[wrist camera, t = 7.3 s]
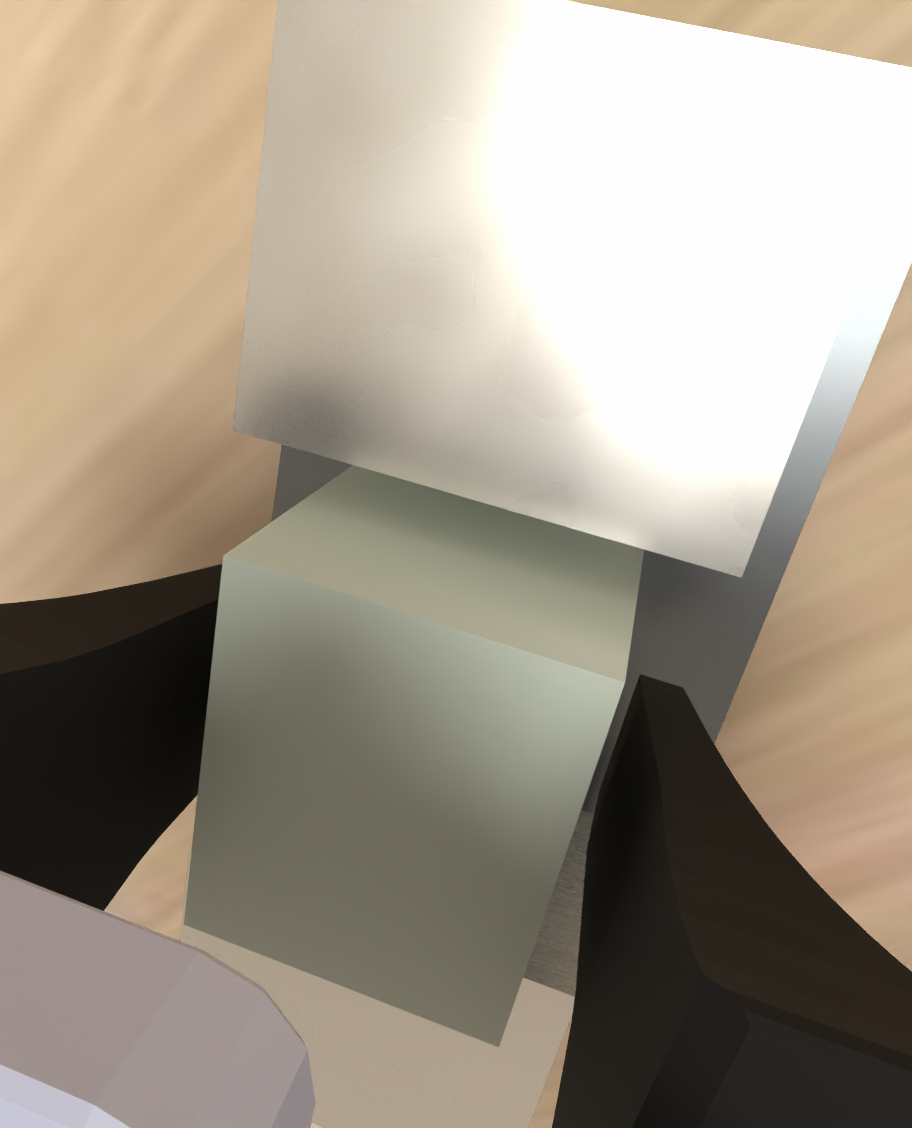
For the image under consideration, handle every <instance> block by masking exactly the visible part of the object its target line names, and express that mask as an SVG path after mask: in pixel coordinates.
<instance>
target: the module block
mask: <svg viewBox="0 0 912 1128" xmlns="http://www.w3.org/2000/svg"><path fill="white" fill-rule="evenodd" d="M643 554H644V549H641V548H638V547H634V546H631V545H627V544H624V543H620V542H617V541H613V540H610V539H607V538H603V537H600V536H596V535H593V534H589V533H586V532H582V531H579V530H575V529H572V528H569V527H565V526H562V525H558V524H555V523H551V522H548V521H544V520H541V519H538V518H534V517H531V516H527V515H524V514H520V513H517V512H513V511H510V510H507V509H503V508H500V507H496V506H493V505H489V504H486V503H482V502H479V501H476V500H472V499H469V498H465V497H462V496H458V495H455V494H451V493H448V492H444V491H441V490H438V489H434V488H431V487H427V486H424V485H420V484H417V483H413V482H410V481H407V480H403V479H400V478H396V477H393V476H389V475H386V474H382V473H379V472H376V471H372V470H369V469H365V468H362V467H358V466H355V465H353V466H351V467H350V468H348V469H347V470H346V471H344V472H343V473H341V474H340V475H338V476H337V477H335V478H334V479H333V480H331V481H330V482H328V483H327V484H325V485H324V486H322V487H321V488H320V489H318V490H317V491H315V492H314V493H312V494H311V495H309V496H308V497H307V498H305V499H304V500H302V501H301V502H299V503H298V504H297V505H295V506H294V507H292V508H291V509H289V510H288V511H286V512H285V513H284V514H282V515H281V516H279V517H278V518H276V519H275V520H273V521H272V522H271V523H269V524H268V525H266V526H265V527H263V528H262V529H260V530H259V531H258V532H256V533H255V534H253V535H252V536H250V537H249V538H248V539H246V540H245V541H243V542H242V543H240V544H239V545H237V546H236V547H235V548H233V549H232V550H230V551H229V552H227V553H226V554H224V555H223V563H222V572H221V581H220V591H219V600H218V609H217V619H216V628H215V637H214V647H213V656H212V665H211V675H210V684H209V693H208V703H207V712H206V721H205V731H204V740H203V749H202V759H201V768H200V777H199V787H198V796H197V805H196V815H195V824H194V833H193V843H192V852H191V862H190V871H189V880H188V890H187V899H186V908H185V918H184V925H186V926H189V927H191V928H194V929H196V930H199V931H202V932H204V933H207V934H209V935H212V936H214V937H217V938H219V939H222V940H225V941H227V942H230V943H232V944H235V945H237V946H240V947H243V948H245V949H248V950H250V951H253V952H255V953H258V954H260V955H263V956H266V957H268V958H271V959H273V960H276V961H278V962H281V963H284V964H286V965H289V966H291V967H294V968H296V969H299V970H301V971H304V972H307V973H309V974H312V975H314V976H317V977H319V978H322V979H325V980H327V981H330V982H332V983H335V984H337V985H340V986H342V987H345V988H348V989H350V990H353V991H355V992H358V993H360V994H363V995H365V996H368V997H371V998H373V999H376V1000H378V1001H381V1002H383V1003H386V1004H389V1005H391V1006H394V1007H396V1008H399V1009H401V1010H404V1011H406V1012H409V1013H412V1014H414V1015H417V1016H419V1017H422V1018H424V1019H427V1020H430V1021H432V1022H435V1023H437V1024H440V1025H442V1026H445V1027H447V1028H450V1029H453V1030H455V1031H458V1032H460V1033H463V1034H465V1035H468V1036H471V1037H473V1038H476V1039H478V1040H481V1041H483V1042H486V1043H488V1044H491V1045H494V1046H496V1047H499V1045H500V1043H501V1040H502V1037H503V1034H504V1031H505V1028H506V1025H507V1022H508V1019H509V1017H510V1014H511V1011H512V1008H513V1005H514V1002H515V999H516V996H517V993H518V991H519V988H520V985H521V982H522V979H523V976H524V973H525V970H526V967H527V965H528V962H529V959H530V956H531V953H532V950H533V947H534V944H535V941H536V939H537V936H538V933H539V930H540V927H541V924H542V921H543V918H544V915H545V913H546V910H547V907H548V904H549V901H550V898H551V895H552V892H553V889H554V887H555V884H556V881H557V878H558V875H559V872H560V869H561V866H562V863H563V861H564V858H565V855H566V852H567V849H568V846H569V843H570V840H571V837H572V835H573V832H574V829H575V826H576V823H577V820H578V817H579V814H580V811H581V809H582V806H583V803H584V800H585V797H586V794H587V791H588V788H589V785H590V783H591V780H592V777H593V774H594V771H595V768H596V765H597V762H598V759H599V757H600V754H601V751H602V748H603V745H604V742H605V739H606V736H607V733H608V731H609V728H610V725H611V722H612V719H613V716H614V713H615V710H616V707H617V705H618V702H619V699H620V696H621V693H622V690H623V687H624V684H625V680H626V673H627V666H628V659H629V652H630V645H631V638H632V631H633V624H634V617H635V610H636V603H637V596H638V589H639V582H640V575H641V568H642V561H643Z"/></svg>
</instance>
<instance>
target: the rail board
mask: <svg viewBox="0 0 912 1128" xmlns="http://www.w3.org/2000/svg"><path fill="white" fill-rule="evenodd" d="M911 262H912V68H909V67H904V66H899V65H894V64H889V63H883V62H878V61H873V60H868V59H863V58H858V57H853V56H848V55H842V54H837V53H832V52H827V51H822V50H817V49H812V48H806V47H801V46H796V45H791V44H786V43H781V42H776V41H770V40H765V39H760V38H755V37H750V36H745V35H740V34H734V33H729V32H724V31H719V30H714V29H709V28H704V27H699V26H693V25H688V24H683V23H678V22H673V21H668V20H663V19H657V18H652V17H647V16H642V15H637V14H632V13H627V12H621V11H616V10H611V9H606V8H601V7H596V6H591V5H585V4H580V3H575V2H570V1H565V0H278V3H277V12H276V22H275V32H274V41H273V51H272V60H271V70H270V80H269V89H268V99H267V108H266V118H265V128H264V137H263V147H262V157H261V166H260V176H259V185H258V195H257V205H256V214H255V224H254V234H253V243H252V253H251V262H250V272H249V282H248V291H247V301H246V310H245V320H244V330H243V339H242V349H241V359H240V368H239V378H238V387H237V397H236V407H235V416H234V426H233V430H234V431H238V432H241V433H245V434H248V435H251V436H255V437H258V438H262V439H265V440H269V441H272V442H276V443H279V444H282V448H281V456H280V464H279V471H278V479H277V487H276V495H275V502H274V510H273V518H272V521H273V520H275V519H276V518H278V517H279V516H281V515H282V514H284V513H285V512H286V511H288V510H289V509H291V508H292V507H294V506H295V505H297V504H298V503H299V502H301V501H302V500H304V499H305V498H307V497H308V496H309V495H311V494H312V493H314V492H315V491H317V490H318V489H320V488H321V487H322V486H324V485H325V484H327V483H328V482H330V481H331V480H333V479H334V478H335V477H337V476H338V475H340V474H341V473H343V472H344V471H346V470H347V469H348V468H350V467H351V466H353V465H355V466H358V467H362V468H365V469H369V470H372V471H376V472H379V473H382V474H386V475H389V476H393V477H396V478H400V479H403V480H407V481H410V482H413V483H417V484H420V485H424V486H427V487H431V488H434V489H438V490H441V491H444V492H448V493H451V494H455V495H458V496H462V497H465V498H469V499H472V500H476V501H479V502H482V503H486V504H489V505H493V506H496V507H500V508H503V509H507V510H510V511H513V512H517V513H520V514H524V515H527V516H531V517H534V518H538V519H541V520H544V521H548V522H551V523H555V524H558V525H562V526H565V527H569V528H572V529H575V530H579V531H582V532H586V533H589V534H593V535H596V536H600V537H603V538H607V539H610V540H613V541H617V542H620V543H624V544H627V545H631V546H634V547H638V548H641V549H644V554H643V561H642V568H641V575H640V582H639V589H638V596H637V603H636V610H635V617H634V624H633V631H632V638H631V645H630V652H629V659H628V666H627V673H626V680H625V684H624V687H623V690H622V693H621V696H620V699H619V702H618V705H617V707H616V710H615V713H614V716H613V719H612V722H611V725H610V728H609V731H608V733H607V736H606V739H605V742H604V745H603V748H602V751H601V754H600V757H599V759H598V762H597V765H596V768H595V771H594V774H593V777H592V780H591V783H590V785H589V788H588V791H587V794H586V797H585V800H584V803H583V806H582V809H581V811H580V814H579V817H578V820H577V823H576V826H575V829H574V832H573V835H572V837H571V840H570V843H569V846H568V849H567V852H566V855H565V858H564V861H563V863H562V866H561V869H560V872H559V875H558V878H557V881H556V884H555V887H554V889H553V892H552V895H551V898H550V901H549V904H548V907H547V910H546V913H545V915H544V918H543V921H542V924H541V927H540V930H539V933H538V936H537V939H536V941H535V944H534V947H533V950H532V953H531V956H530V959H529V962H528V965H527V967H526V970H525V973H524V976H523V979H522V982H521V985H520V988H519V991H518V993H517V996H516V999H515V1002H514V1005H513V1008H512V1011H511V1014H510V1017H509V1019H508V1022H507V1025H506V1028H505V1031H504V1034H503V1037H502V1040H501V1043H500V1045H499V1047H496V1046H494V1045H491V1044H488V1043H486V1042H483V1041H481V1040H478V1039H476V1038H473V1037H471V1036H468V1035H465V1034H463V1033H460V1032H458V1031H455V1030H453V1029H450V1028H447V1027H445V1026H442V1025H440V1024H437V1023H435V1022H432V1021H430V1020H427V1019H424V1018H422V1017H419V1016H417V1015H414V1014H412V1013H409V1012H406V1011H404V1010H401V1009H399V1008H396V1007H394V1006H391V1005H389V1004H386V1003H383V1002H381V1001H378V1000H376V999H373V998H371V997H368V996H365V995H363V994H360V993H358V992H355V991H353V990H350V989H348V988H345V987H342V986H340V985H337V984H335V983H332V982H330V981H327V980H325V979H322V978H319V977H317V976H314V975H312V974H309V973H307V972H304V971H301V970H299V969H296V968H294V967H291V966H289V965H286V964H284V963H281V962H278V961H276V960H273V959H271V958H268V957H266V956H263V955H260V954H258V953H255V952H253V951H250V950H248V949H245V948H243V947H240V946H237V945H235V944H232V943H230V942H227V941H225V940H222V939H219V938H217V937H214V936H212V935H209V934H207V933H204V932H202V931H199V930H196V929H194V928H191V927H189V926H186V925H184V918H185V908H186V899H187V890H188V880H189V871H190V862H191V852H192V850H191V851H190V852H189V859H188V868H187V878H186V888H185V897H184V907H183V917H182V926H181V936H180V941H181V942H183V943H186V944H188V945H191V946H193V947H196V948H199V949H201V950H204V951H206V952H207V953H209V954H211V955H212V956H214V957H215V958H217V959H219V960H220V961H222V962H223V963H225V964H227V965H228V966H230V967H232V968H233V969H235V970H236V971H238V972H240V973H241V974H243V975H245V976H246V977H248V978H249V979H251V980H253V981H254V982H256V983H257V984H259V985H261V986H262V987H263V988H264V989H265V990H266V992H267V993H268V994H269V996H270V997H271V998H272V999H273V1001H274V1002H275V1003H276V1005H277V1006H278V1007H279V1009H280V1010H281V1011H282V1013H283V1014H284V1015H285V1017H286V1018H287V1019H288V1020H289V1022H290V1023H291V1024H292V1026H293V1027H294V1028H295V1030H296V1031H297V1032H298V1034H299V1035H300V1036H301V1038H302V1040H303V1042H304V1043H305V1045H306V1047H307V1049H308V1056H309V1062H310V1069H311V1076H312V1083H313V1090H314V1096H315V1103H316V1104H315V1108H314V1113H313V1117H312V1123H315V1124H317V1125H319V1126H322V1127H324V1128H528V1127H529V1124H530V1122H531V1119H532V1117H533V1114H534V1111H535V1109H536V1106H537V1104H538V1101H539V1099H540V1096H541V1093H542V1091H543V1088H544V1086H545V1083H546V1080H547V1078H548V1075H549V1073H550V1070H551V1068H552V1065H553V1062H554V1060H555V1057H556V1055H557V1052H558V1050H559V1047H560V1044H561V1042H562V1039H563V1037H564V1034H565V1032H566V1029H567V1026H568V1024H569V1021H570V1019H571V1016H572V1013H573V1007H574V999H575V991H576V978H577V966H578V953H579V940H580V927H581V914H582V901H583V889H584V877H585V864H586V853H587V846H588V841H589V836H590V831H591V826H592V821H593V817H594V812H595V808H596V803H597V798H598V794H599V789H600V786H601V783H602V781H603V778H604V775H605V772H606V769H607V766H608V764H609V761H610V758H611V755H612V752H613V749H614V746H615V744H616V741H617V738H618V735H619V732H620V729H621V726H622V724H623V721H624V718H625V715H626V712H627V709H628V707H629V704H630V701H631V698H632V695H633V692H634V689H635V687H636V684H637V681H638V678H639V675H640V674H642V675H645V676H648V677H651V678H654V679H658V680H661V681H664V682H667V683H670V684H674V685H677V686H680V687H683V688H684V690H685V692H686V693H687V695H688V697H689V699H690V701H691V703H692V705H693V706H694V708H695V710H696V712H697V714H698V716H699V718H700V720H701V721H702V723H703V725H704V727H705V729H706V731H707V732H708V734H709V736H710V738H711V740H712V741H713V743H715V740H716V738H717V735H718V733H719V731H720V728H721V726H722V723H723V721H724V718H725V716H726V713H727V711H728V709H729V706H730V704H731V701H732V699H733V696H734V694H735V691H736V689H737V687H738V684H739V682H740V679H741V677H742V674H743V672H744V670H745V667H746V665H747V662H748V660H749V657H750V655H751V652H752V650H753V648H754V645H755V643H756V640H757V638H758V635H759V633H760V631H761V628H762V626H763V623H764V621H765V618H766V616H767V613H768V611H769V609H770V606H771V604H772V601H773V599H774V596H775V594H776V591H777V589H778V587H779V584H780V582H781V579H782V577H783V574H784V572H785V570H786V567H787V565H788V562H789V560H790V557H791V555H792V552H793V550H794V548H795V545H796V543H797V540H798V538H799V535H800V533H801V531H802V528H803V526H804V523H805V521H806V518H807V516H808V513H809V511H810V509H811V506H812V504H813V501H814V499H815V496H816V494H817V491H818V489H819V487H820V484H821V482H822V479H823V477H824V474H825V472H826V470H827V467H828V465H829V462H830V460H831V457H832V455H833V452H834V450H835V448H836V445H837V443H838V440H839V438H840V435H841V433H842V430H843V428H844V426H845V423H846V421H847V418H848V416H849V413H850V411H851V409H852V406H853V404H854V401H855V399H856V396H857V394H858V391H859V389H860V387H861V384H862V382H863V379H864V377H865V374H866V372H867V370H868V367H869V365H870V362H871V360H872V357H873V355H874V352H875V350H876V348H877V345H878V343H879V340H880V338H881V335H882V333H883V330H884V328H885V326H886V323H887V321H888V318H889V316H890V313H891V311H892V309H893V306H894V304H895V301H896V299H897V296H898V294H899V291H900V289H901V287H902V284H903V282H904V279H905V277H906V274H907V272H908V270H909V267H910V265H911Z"/></svg>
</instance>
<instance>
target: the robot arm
mask: <svg viewBox="0 0 912 1128" xmlns="http://www.w3.org/2000/svg"><path fill="white" fill-rule="evenodd" d="M221 572H222V564H221V565H216V566H212V567H208V568H204V569H200V570H196V571H192V572H187V573H183V574H179V575H175V576H171V577H166V578H162V579H158V580H154V581H149V582H144V583H139V584H134V585H129V586H124V587H119V588H114V589H108V590H103V591H98V592H93V593H88V594H82V595H75V596H68V597H61V598H54V599H45V600H36V601H27V602H18V603H7V604H0V1128H310V1127H311V1122H312V1117H313V1113H314V1108H315V1104H316V1103H315V1096H314V1090H313V1083H312V1076H311V1069H310V1062H309V1056H308V1049H307V1047H306V1045H305V1043H304V1042H303V1040H302V1038H301V1036H300V1035H299V1034H298V1032H297V1031H296V1030H295V1028H294V1027H293V1026H292V1024H291V1023H290V1022H289V1020H288V1019H287V1018H286V1017H285V1015H284V1014H283V1013H282V1011H281V1010H280V1009H279V1007H278V1006H277V1005H276V1003H275V1002H274V1001H273V999H272V998H271V997H270V996H269V994H268V993H267V992H266V990H265V989H264V988H263V987H262V986H261V985H259V984H257V983H256V982H254V981H253V980H251V979H249V978H248V977H246V976H245V975H243V974H241V973H240V972H238V971H236V970H235V969H233V968H232V967H230V966H228V965H227V964H225V963H223V962H222V961H220V960H219V959H217V958H215V957H214V956H212V955H211V954H209V953H207V952H206V951H204V950H201V949H199V948H196V947H193V946H191V945H188V944H186V943H183V942H181V941H178V940H176V939H173V938H171V937H168V936H165V935H163V934H160V933H158V932H155V931H153V930H150V929H148V928H145V927H143V926H140V925H137V924H135V923H132V922H130V921H127V920H125V919H122V918H120V917H117V916H114V915H112V914H109V913H107V912H104V910H105V908H106V907H107V906H108V904H109V903H110V901H111V900H112V899H113V897H114V896H115V895H116V893H117V892H118V890H119V889H120V888H121V886H122V885H123V883H124V882H125V881H126V879H127V878H128V876H129V875H130V874H131V872H132V871H133V870H134V868H135V867H136V865H137V864H138V863H139V861H140V860H141V859H142V857H143V856H144V855H145V854H146V853H147V851H148V850H149V849H150V848H151V846H152V845H153V844H154V843H155V842H156V840H157V839H158V838H159V837H160V835H161V834H162V833H163V832H164V831H165V830H166V829H167V828H168V827H169V825H170V824H171V823H172V822H173V821H174V820H175V819H176V818H177V817H178V816H179V814H180V813H181V812H182V811H183V810H184V809H185V808H186V807H187V806H188V804H189V803H190V802H191V801H192V800H193V799H194V798H195V797H196V796H197V794H198V787H199V777H200V768H201V759H202V749H203V740H204V731H205V721H206V712H207V703H208V693H209V684H210V675H211V665H212V656H213V647H214V637H215V628H216V619H217V609H218V600H219V591H220V581H221ZM552 1128H912V972H911V971H910V970H909V969H908V968H907V967H905V966H904V965H903V964H902V963H900V962H899V961H898V960H897V959H896V958H895V957H894V956H893V955H891V954H890V953H889V952H888V951H887V950H886V949H885V948H883V947H882V946H881V945H880V944H879V943H878V942H877V941H876V940H874V939H873V938H872V937H871V936H870V935H869V934H868V933H867V932H866V931H865V930H864V929H863V928H862V927H861V926H860V925H859V924H858V923H856V922H855V921H854V920H853V919H852V918H851V917H850V916H849V915H848V914H847V913H846V912H845V911H844V910H843V909H842V908H841V907H840V906H839V905H838V904H837V903H836V902H835V901H834V900H833V899H832V898H831V897H830V896H829V895H828V894H827V893H826V892H825V891H824V890H823V889H822V888H821V887H820V886H819V885H818V884H817V882H816V881H815V880H814V879H813V878H812V877H811V876H810V875H809V874H808V873H807V871H806V870H805V869H804V868H803V867H802V866H801V864H800V863H799V862H798V861H797V860H796V859H795V858H794V856H793V855H792V854H791V853H790V852H789V851H788V849H787V848H786V847H785V846H784V845H783V844H782V842H781V841H780V840H779V839H778V837H777V836H776V835H775V834H774V832H773V831H772V830H771V829H770V827H769V826H768V825H767V823H766V822H765V821H764V819H763V818H762V817H761V815H760V814H759V812H758V811H757V810H756V808H755V807H754V805H753V804H752V803H751V801H750V800H749V798H748V797H747V795H746V794H745V793H744V791H743V790H742V788H741V787H740V785H739V784H738V782H737V781H736V779H735V778H734V776H733V775H732V773H731V771H730V770H729V768H728V767H727V765H726V763H725V762H724V760H723V758H722V757H721V755H720V753H719V752H718V750H717V748H716V747H715V745H714V743H713V741H712V740H711V738H710V736H709V734H708V732H707V731H706V729H705V727H704V725H703V723H702V721H701V720H700V718H699V716H698V714H697V712H696V710H695V708H694V706H693V705H692V703H691V701H690V699H689V697H688V695H687V693H686V692H685V690H684V688H683V687H680V686H677V685H674V684H670V683H667V682H664V681H661V680H658V679H654V678H651V677H648V676H645V675H642V674H640V675H639V678H638V681H637V684H636V687H635V689H634V692H633V695H632V698H631V701H630V704H629V707H628V709H627V712H626V715H625V718H624V721H623V724H622V726H621V729H620V732H619V735H618V738H617V741H616V744H615V746H614V749H613V752H612V755H611V758H610V761H609V764H608V766H607V769H606V772H605V775H604V778H603V781H602V783H601V786H600V789H599V794H598V798H597V803H596V808H595V812H594V817H593V821H592V826H591V831H590V836H589V841H588V846H587V853H586V864H585V877H584V889H583V901H582V914H581V927H580V940H579V953H578V966H577V978H576V991H575V999H574V1007H573V1015H572V1023H571V1028H570V1034H569V1039H568V1045H567V1050H566V1056H565V1061H564V1066H563V1072H562V1077H561V1083H560V1088H559V1094H558V1099H557V1104H556V1109H555V1115H554V1120H553V1125H552Z"/></svg>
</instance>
